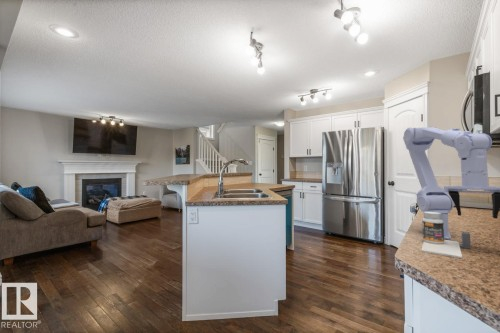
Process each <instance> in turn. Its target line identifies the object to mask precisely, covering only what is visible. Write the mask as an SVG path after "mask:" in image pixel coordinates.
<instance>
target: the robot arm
mask: <svg viewBox="0 0 500 333" xmlns="http://www.w3.org/2000/svg"><path fill="white" fill-rule="evenodd" d="M402 139H403V143H404V145H405V148H406V150H408V153H409V156H410V158H411V159H410V160H411V162H412V164H413V167H414V170H415V173H416V176H417V179H418V181H419V182H418V183H419V185H420V187H421V189H420V190H418V191H417V193H416V194H415V196H416V199H417V200H416V203H417V207H418V208H419V209H420V211H421V212H423V213H424V212H438V213H441V216H442V217H441V220H443V222H444V240H452V236H451V232H450V231H449V230H450V229H449V214H450V213H451V211H452V210H453V209H454V206H455V208H456V211H457V216H459V217H461V216H462V211H461V205H460V204H461V202H460V199H461V198H460V197H461V196H460V193H469V194H470V193H473V194H491V203H492V215H491V216H492V218H493V219H498V216H499V211H500V186H489V176H488V175H489V174H488V172H489V171H488V159H487V158H488V157H487V154H488V153H487V151H488V150H489V149H490V148H492V145H493V140H492V138H491V136H490V135H489V134H486V133H484V132H481V133H472V131H470V130H465V131H464V130H463V131H462V130H460V128H459V127H454V128H453V127H452V128H451V129H447V130H445V129H440V128H437V127H435V126H429V127H407V128H406V129H405V130H404V133H403V138H402ZM435 140H440V142H441V143H442V144H443V145H445V146H448V147H451V148H453V149H455V151H457V153H458V154H457V155H458V158H460V169H461V185H444V186H443V187H441V186H440V185H439V184H438V182H437V178H436V177H435V173H434V171H433V169H432V166H431V163H430V161H429V158H428V156H427V152H426V151H427V150H429V149H430V148H431V146H432V145H433V143H434V141H435ZM423 218H425V216H424V215H423Z"/></svg>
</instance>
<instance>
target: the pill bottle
mask: <svg viewBox="0 0 500 333" xmlns="http://www.w3.org/2000/svg"><path fill="white" fill-rule="evenodd" d="M424 216H425V218H424ZM441 217H442V216H441V213H438V212H423V218H422V221H421V225H422V240H423V242H424V241H426V242H429V243H434V244H443V243H444V240H445V238H444V222H443V220H441Z"/></svg>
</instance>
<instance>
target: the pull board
mask: <svg viewBox="0 0 500 333" xmlns="http://www.w3.org/2000/svg"><path fill="white" fill-rule="evenodd" d="M470 233H471V232H468V231H461V243H460V242H459V241H457V240H451V239H444V243H443V244H434V243H429V242H426V241H424V240H423V242H422V246H421V252H422V253H427V254H428V253H429V254H433V255H440V256H445V257H450V258H451V257H452V258H458V259H463V255H462V252H461V250H462V249H461V248H463V249H469V250H471V246H472V245H471V234H470Z"/></svg>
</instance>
